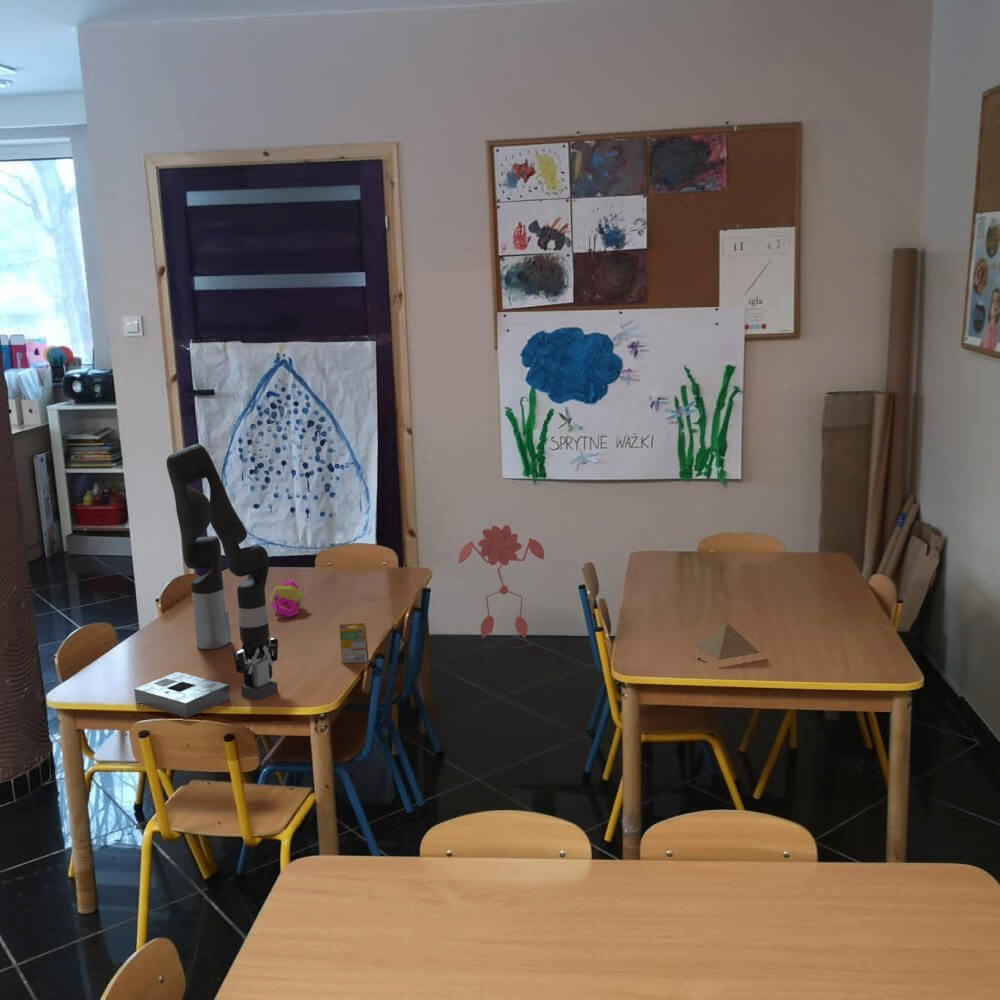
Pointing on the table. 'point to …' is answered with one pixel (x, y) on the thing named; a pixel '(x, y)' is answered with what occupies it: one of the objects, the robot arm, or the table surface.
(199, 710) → the port panel
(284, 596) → the toy
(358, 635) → the crayon box
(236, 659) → the robot arm
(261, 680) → the plug
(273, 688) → the dark grey square frame
